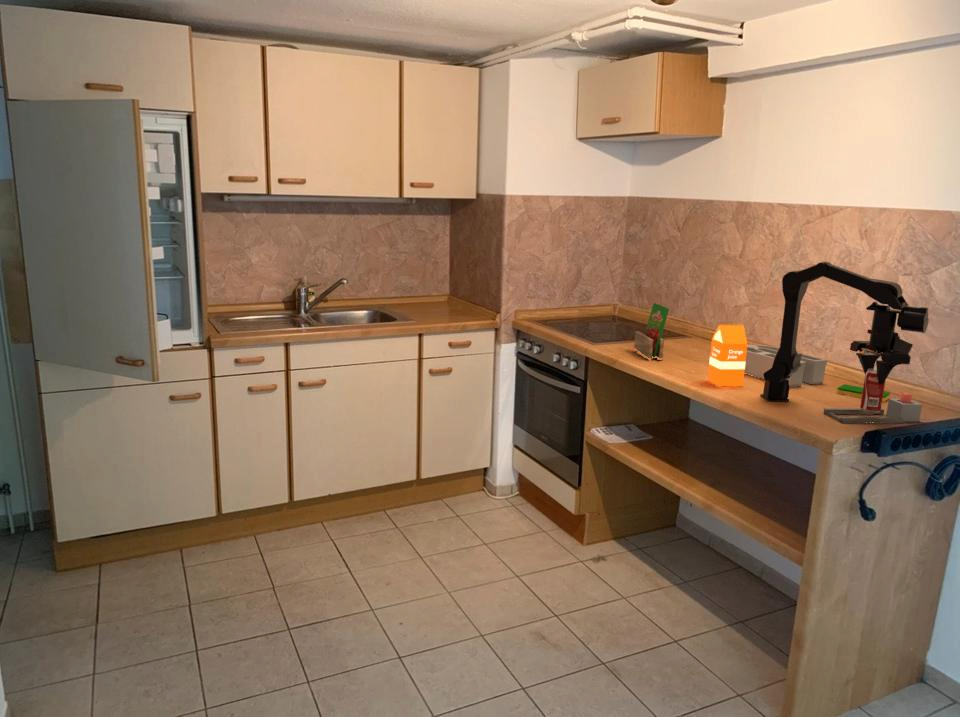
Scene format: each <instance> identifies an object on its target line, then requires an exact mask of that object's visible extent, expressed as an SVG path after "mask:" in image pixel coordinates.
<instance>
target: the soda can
mask: <svg viewBox="0 0 960 717" xmlns="http://www.w3.org/2000/svg"><path fill="white" fill-rule="evenodd" d="M885 386H886V381H885V382H884V384H879V382H878V375H877V368H875V367H874V368H869V369H867V372H866V373H864V380H863V386H862V387H863V393H862V398H860V399H861V401H860V408H859V409H861V410H862V411H865V412H869V413H879V412H880V411H881V409H882V405H883V402H882V399H883V393H884V391H885Z"/></svg>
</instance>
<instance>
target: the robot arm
mask: <svg viewBox="0 0 960 717" xmlns="http://www.w3.org/2000/svg"><path fill="white" fill-rule="evenodd" d="M822 277H823V278H826V279H828V280H832V281H834V282H837V283H839V284H842V285H844V286H847V287H850V288H853V289H855V290H858V291H861V292H862V293H864V294H865V295H867V297H869V298H871V299H873V302H872V303H871V304H870V305H869V306H867V307H866V308H865V310H867V311H873V317H872V321H871V322H872V323H871V329H867V332H866V333H867V334H869V335H870V337H869V340H853V341H852V342H851V343H850V346H849V347H850V348H849V351H851V352H855V355H856V356H857V357H858V360H859V362H860V364H861V368H862V370H863V373H864V374H865V373H866V372H867V369H869V368H875V366H876V369H877V375H878V382H879V384H884V382H885V383H886V380H887V379H888V376H889V375H890V373H891V372H892V370H893V369H894V368H895V367H896V366H900V365H910V364H911V360H912V356H911V355H910V352H911V350H912V348H913V346H914V344H913V343H910V342H908V341H907V340H906V341H905V340H903V339H901V338H900V336H899V333H898V332H897V331H896V330H895V328H896V325H897V327H898V328H900V330H901V331H906V332H916V333H921V334H922V333H923V334H925V333H926V331H927V329H928V325H929V321H930V320H929V307H924V306H921V307H918V306H909V304H908V302H907V301H906V299H905V298H904V296H903V288H902V287H901V285H900V284H899V283H897V282H894V281H889V280H883V279H875V278H871V277H868V276H865V275H861V274H859V273H856V272H854V271H852V270H848V269H846V268H843V267H840V266H838V265H834V264H832V263H831V262H829V261H820V262H817V264H814V265H812V266H810V267H806V268H805V269H801V270H794V271H789V272H786V274H784V275H783V277H782V279H781V286H782V287H781V288H782V294H783V295H782V296H783V297H784V308H783V317H782V323H781V324H782V326H781V332H780V333H781V334H780V342H779V343H780V344H779V347H778V348H779V350H778V352H777V354H776V356H775V359H774V362H773V365H772V368H771V369H769V370H768V371H766V372H765V373H764V374H763V375H764V380H763V381H764V384H763V385H764V386H763V392H762V393H761V394H760V395H759V396H760V397H762V398H764V400H767V401H769V402H790V399H789V394H790V393H789V392H790V385H789V380H787V379H789V378H790V376H791V375H792V374H794V373H795V372H797V370H798V368H799V367H801V364H800V360H801V357H802V354H803V353H802V354H797V352H798V351H797V340H798V339H797V338H798V331H799V323H800V316H801V315H800V313H801V308H802V307H801V306H802V301H803V299H804V297H805V294H806V293H807V289H808V287H809V284H810V283H811V282H814V281H815V280H817V279H820V278H822ZM879 303H880V304H879ZM880 357H881V360H878V359H880Z"/></svg>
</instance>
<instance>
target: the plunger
mask: <svg viewBox="0 0 960 717" xmlns="http://www.w3.org/2000/svg"><path fill="white" fill-rule="evenodd" d="M912 398H913V394H912V393H909V392H901V393H900V398H899V399H900V402H902V403H911V400H912Z"/></svg>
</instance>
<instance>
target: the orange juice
mask: <svg viewBox="0 0 960 717" xmlns="http://www.w3.org/2000/svg"><path fill="white" fill-rule="evenodd" d="M710 344H711V345H710V355H709V360H708V362H709V363H708V373H707V381H708V380H709V381H710V382H712V383H714V384H716V385H717V386H743V385H744V379H745V378H744V377H745V374H744V370H745V363H746V353H747V345H749V344H748V340H747V336H746V331H745V327H744V324H718V327H717V329H716V330H715V332H714V334H713V336H712V338H711V343H710ZM710 382H709V383H710ZM717 386H716V387H717Z"/></svg>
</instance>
